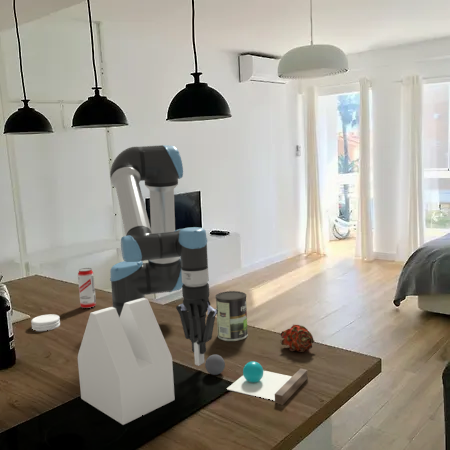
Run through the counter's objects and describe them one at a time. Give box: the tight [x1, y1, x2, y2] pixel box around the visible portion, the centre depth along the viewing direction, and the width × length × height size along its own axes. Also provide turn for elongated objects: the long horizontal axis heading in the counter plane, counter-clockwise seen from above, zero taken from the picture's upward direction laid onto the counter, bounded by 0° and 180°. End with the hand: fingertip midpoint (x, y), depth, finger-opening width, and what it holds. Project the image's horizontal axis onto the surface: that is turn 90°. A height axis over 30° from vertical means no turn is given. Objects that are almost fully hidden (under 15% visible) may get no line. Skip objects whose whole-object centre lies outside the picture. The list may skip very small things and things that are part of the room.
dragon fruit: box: [279, 324, 315, 353], centre depth 155 cm, size 8×8×12 cm
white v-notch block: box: [77, 297, 175, 426], centre depth 127 cm, size 19×15×25 cm
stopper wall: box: [274, 368, 308, 406], centre depth 129 cm, size 16×2×2 cm, turn 149°
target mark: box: [226, 369, 293, 402], centre depth 134 cm, size 14×14×1 cm
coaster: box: [30, 313, 61, 332], centre depth 187 cm, size 10×10×4 cm
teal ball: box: [242, 360, 264, 383], centre depth 135 cm, size 6×6×6 cm
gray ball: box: [204, 354, 226, 376], centre depth 141 cm, size 6×6×6 cm
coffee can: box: [214, 290, 249, 342], centre depth 169 cm, size 10×10×14 cm
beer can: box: [77, 267, 97, 309], centre depth 208 cm, size 6×6×16 cm
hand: (199, 363), depth 144 cm, fingers closed
